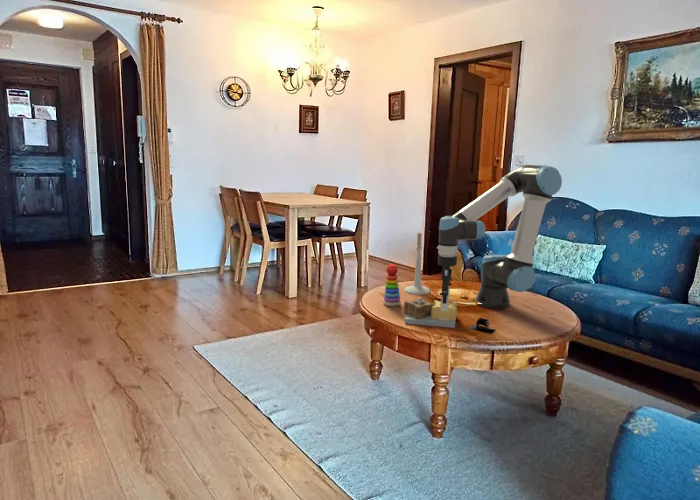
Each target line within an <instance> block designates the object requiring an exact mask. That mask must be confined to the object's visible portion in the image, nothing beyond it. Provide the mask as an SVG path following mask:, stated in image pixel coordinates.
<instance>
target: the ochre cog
mask: <svg viewBox="0 0 700 500" xmlns="http://www.w3.org/2000/svg"><path fill="white" fill-rule="evenodd" d="M432 303H433V304H435V306H432V313H431V318H432V319H449V320H452V321H454V320H455V321H456V319H457V310H458V302H456V301H451V302H450V301H448V311H441V300H440V301H439V300H433V301H432Z"/></svg>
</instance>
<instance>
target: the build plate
mask: <svg viewBox="0 0 700 500" xmlns="http://www.w3.org/2000/svg"><path fill="white" fill-rule="evenodd" d="M468 329H469V330H473V331H477V332H482V333H486V334H491V335H492V334H494V333H495V332H496V331H497V329H494V328H490V320H489V319H487V318H482V317H479V318H477V321H476V322H475V324H473V325H471V326H470V327H469V328H468Z"/></svg>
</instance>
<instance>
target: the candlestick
mask: <svg viewBox="0 0 700 500" xmlns="http://www.w3.org/2000/svg"><path fill="white" fill-rule="evenodd" d="M416 235H417V236H416V237H417V241H416V246H414V247H415V248H416V257H415V258H416V260H415V269H414V270H415V271H414V282H413V285H409V286H406V287H405V288H404V292H405V293H406V294H410V295H416V296H417V295H419V296H422V295H423V296H424V295H428V294H430V293H431V289H430V288H428V287H427V286H424V285H422V255H421V254H422V253H421V251H422V248H423V245H422V232H417V234H416Z"/></svg>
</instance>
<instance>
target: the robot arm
mask: <svg viewBox="0 0 700 500" xmlns="http://www.w3.org/2000/svg"><path fill="white" fill-rule="evenodd" d="M562 179H563V178H562V175H561V173H560V171H559V170H558V169H557V168H556V167H555V166H549V165H540V164H539V165H537V164H536V165H534V164H525V165H522V166H519V167H517V168H515V169H513V170H512V171H509V173H506V174H505V175H504V176H502V177H501V178H500V179H499V182H498V183H496V184H495V185H494V186H493V187H491V188H490V189H488V190H486V191H485V192H484V193H482V194H481V195H480V196H478V197H477V198H476V199H475V200H472V201H471V202H470V203H468V204H467V205H466V206H464V207H463V208H461V209H460V210H458V211H457V212H455V213H454V214H452V215H445V216H443V217H441V218H440V219H439V226H438V246H437V247H436V249H437V250H438V251H437V252H438V253H437V254H438V256H437V264H438V266H441V267H442V268H441V281H442V282H441V283H442V284H441V292H440V293H439V295H440V296H441V297H440V298H441V299H440V301H441V311H448V302H450V288H451V286H452V282H451V278H452V273H453V272H452V271H453V269H452V268H451V267H455V266H457V262H458V257H457V255H458V249H459V248H458V246H459V244H458V243H459V241H468V240H470V241H471V240H473V241H474V240H480V239H482V238H484V237H485V234H486V225H485V223H484V222H483V221H481V220H479V218H481V217H483V216H484V215H485V214H487V213H488V212H490V211H491V210H493V208H495V207H497V206H498V205H499V204H501V203H502V202H503V201H505V200H506V199H508V198H509V197H514V196H516V195H517V194H518V195H519V194H520V193H522V196H523V198H524V202H523V206H522V209H521V211H520V212H521V214H520V217H519V220H518V224H517V227H516V231H515V234H514V239H513V243H512V246H511V250H510V253H509V254H487V255H484V256H483V257H482V262H481V276H480V279H481V280H480V288H479V291H478V292H477V295H476V296H475V297H476V298H475V302H476V301H477V302H480V303H482V304H481V305H479V306H480V307H483V308H488V309H496V310H498V309H500V310H501V309H506V308H509V307H510V305H511V299H510V295H509V292H508V290H510V291H513V292H517V293H522V292H523V293H524V292H526V291H527V290H529V289H530V288H531V287H533V285H534V283H535V281H536V276H537V275H536V273H535V271H536V270H534V269H533V266H534V262H533V260H532V255H533V252H534V248H535V244H536V241H537V237H538V233H539V230H540V227H541V222H542V220H543V216H544V212H545V209H546V205H547V204H548V203H549V202H550V201H552V198H553V195H555V194H557V193H558V192H559V191H560V189H561V188H562V182H563V180H562Z"/></svg>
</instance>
